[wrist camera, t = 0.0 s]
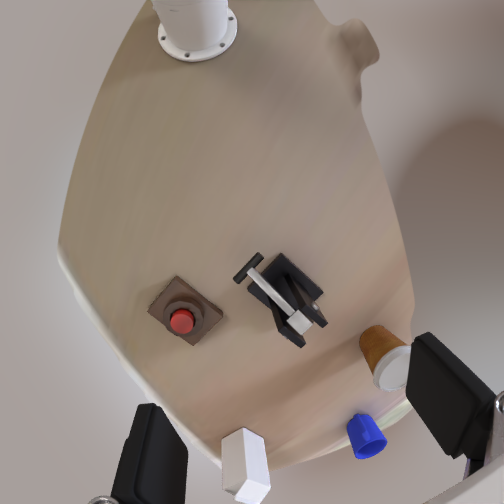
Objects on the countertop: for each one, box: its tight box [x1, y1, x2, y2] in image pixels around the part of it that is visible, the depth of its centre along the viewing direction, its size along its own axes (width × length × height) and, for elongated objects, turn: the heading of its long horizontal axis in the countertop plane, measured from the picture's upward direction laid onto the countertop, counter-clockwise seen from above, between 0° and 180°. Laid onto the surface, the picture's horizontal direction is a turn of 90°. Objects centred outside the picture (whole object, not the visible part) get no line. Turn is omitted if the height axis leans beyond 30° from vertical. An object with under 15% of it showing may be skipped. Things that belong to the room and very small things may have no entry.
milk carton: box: [222, 427, 271, 504], centre depth 49 cm, size 7×7×19 cm
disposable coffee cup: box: [359, 325, 411, 392], centre depth 48 cm, size 10×10×12 cm
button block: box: [147, 276, 223, 346], centre depth 46 cm, size 10×8×4 cm
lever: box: [233, 252, 314, 335], centre depth 39 cm, size 12×5×2 cm, turn 47°
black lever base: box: [247, 253, 328, 348], centre depth 42 cm, size 10×8×13 cm
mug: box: [347, 414, 387, 459], centre depth 55 cm, size 8×12×10 cm
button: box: [170, 309, 194, 334], centre depth 44 cm, size 4×4×2 cm
